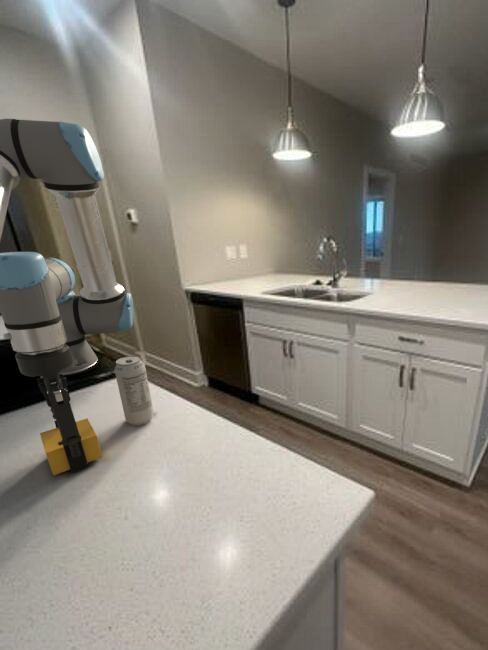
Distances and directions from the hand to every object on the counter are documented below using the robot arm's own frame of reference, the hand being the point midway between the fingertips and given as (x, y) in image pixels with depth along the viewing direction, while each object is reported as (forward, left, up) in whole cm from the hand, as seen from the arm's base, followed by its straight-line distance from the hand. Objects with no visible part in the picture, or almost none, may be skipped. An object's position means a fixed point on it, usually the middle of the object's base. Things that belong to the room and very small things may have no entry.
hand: (75, 456), depth 67 cm
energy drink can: (-12, +9, 0) cm, 15 cm away
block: (0, 0, 0) cm, 0 cm away
